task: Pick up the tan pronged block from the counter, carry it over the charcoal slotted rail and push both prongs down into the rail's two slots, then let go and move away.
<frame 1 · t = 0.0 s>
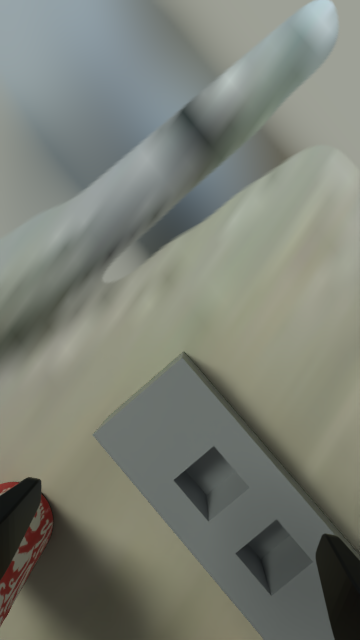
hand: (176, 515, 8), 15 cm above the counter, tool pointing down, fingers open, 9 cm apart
mug: (9, 501, 25), on the counter
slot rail: (233, 486, 24), on the counter
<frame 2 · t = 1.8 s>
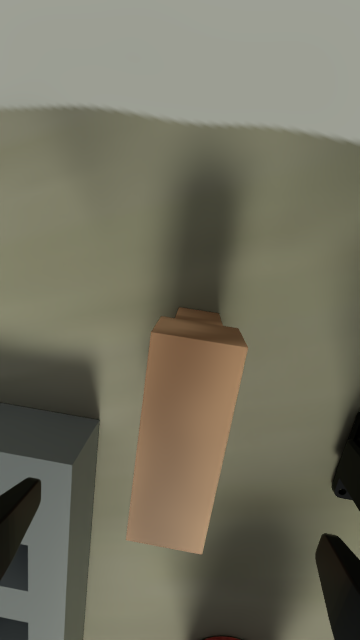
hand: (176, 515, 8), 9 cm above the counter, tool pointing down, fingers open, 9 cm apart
tan pronged block: (187, 380, 17), on the counter
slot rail: (35, 538, 21), on the counter
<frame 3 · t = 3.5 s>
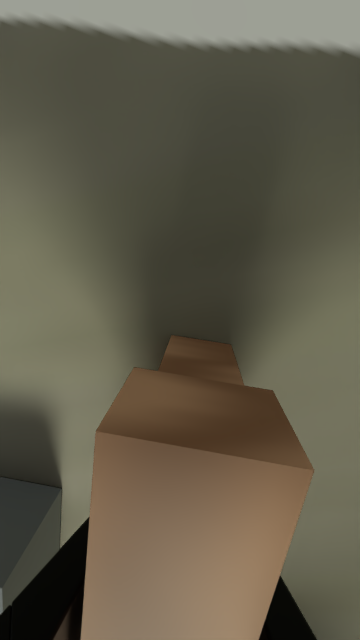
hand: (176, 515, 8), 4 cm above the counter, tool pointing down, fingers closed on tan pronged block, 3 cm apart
tan pronged block: (184, 439, 12), on the counter, touching gripper
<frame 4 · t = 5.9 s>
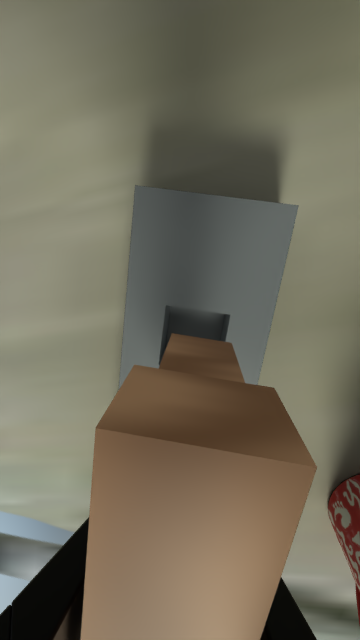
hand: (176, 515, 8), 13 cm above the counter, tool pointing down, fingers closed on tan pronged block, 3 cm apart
tan pronged block: (184, 438, 12), point 10 cm above the counter, touching gripper
mug: (358, 517, 24), on the counter
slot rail: (189, 365, 21), on the counter
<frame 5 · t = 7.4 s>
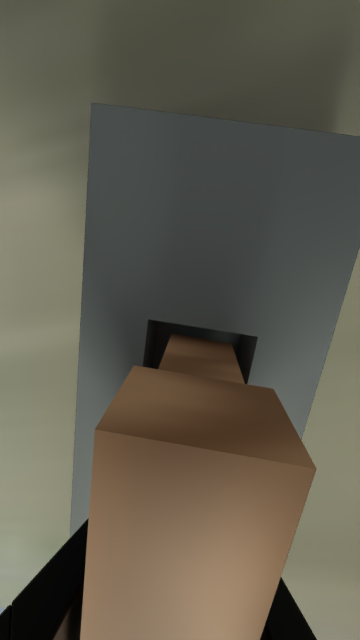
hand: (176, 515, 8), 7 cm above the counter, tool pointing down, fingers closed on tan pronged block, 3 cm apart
tan pronged block: (184, 438, 12), point 3 cm above the counter, touching gripper
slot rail: (186, 402, 15), on the counter
when the fingers open (5 cm above the counter, at t = 8.4 s): tan pronged block stays where it is, resting on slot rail.
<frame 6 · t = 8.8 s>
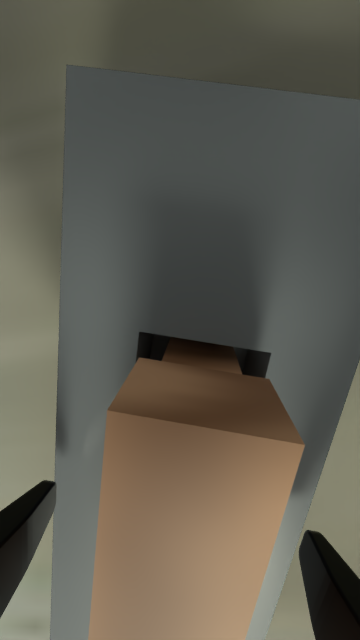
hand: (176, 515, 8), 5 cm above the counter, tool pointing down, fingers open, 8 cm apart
tan pronged block: (185, 431, 12), point 1 cm above the counter, touching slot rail
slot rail: (185, 419, 13), on the counter
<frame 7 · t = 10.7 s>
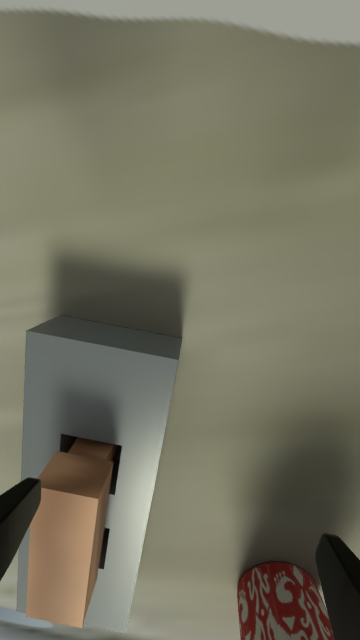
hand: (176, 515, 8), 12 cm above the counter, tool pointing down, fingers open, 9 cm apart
tan pronged block: (99, 470, 21), point 1 cm above the counter, touching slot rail
mug: (266, 598, 25), on the counter
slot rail: (103, 462, 22), on the counter
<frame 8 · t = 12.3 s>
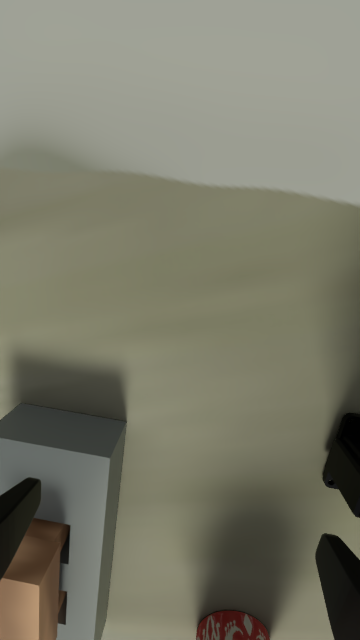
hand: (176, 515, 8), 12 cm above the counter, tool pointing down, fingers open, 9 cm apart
tan pronged block: (63, 533, 24), point 1 cm above the counter, touching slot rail
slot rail: (68, 523, 25), on the counter
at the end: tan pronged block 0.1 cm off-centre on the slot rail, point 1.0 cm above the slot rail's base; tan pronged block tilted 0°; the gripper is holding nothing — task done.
